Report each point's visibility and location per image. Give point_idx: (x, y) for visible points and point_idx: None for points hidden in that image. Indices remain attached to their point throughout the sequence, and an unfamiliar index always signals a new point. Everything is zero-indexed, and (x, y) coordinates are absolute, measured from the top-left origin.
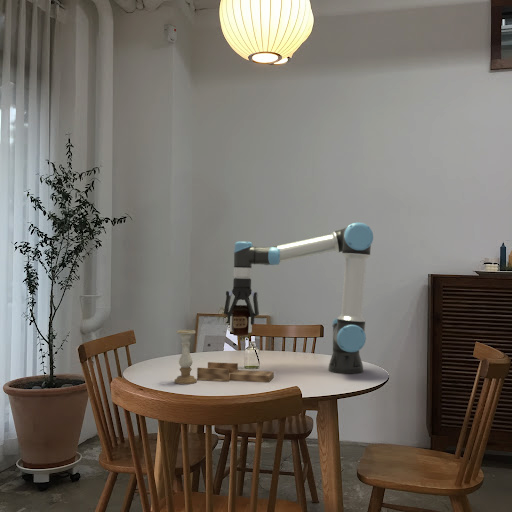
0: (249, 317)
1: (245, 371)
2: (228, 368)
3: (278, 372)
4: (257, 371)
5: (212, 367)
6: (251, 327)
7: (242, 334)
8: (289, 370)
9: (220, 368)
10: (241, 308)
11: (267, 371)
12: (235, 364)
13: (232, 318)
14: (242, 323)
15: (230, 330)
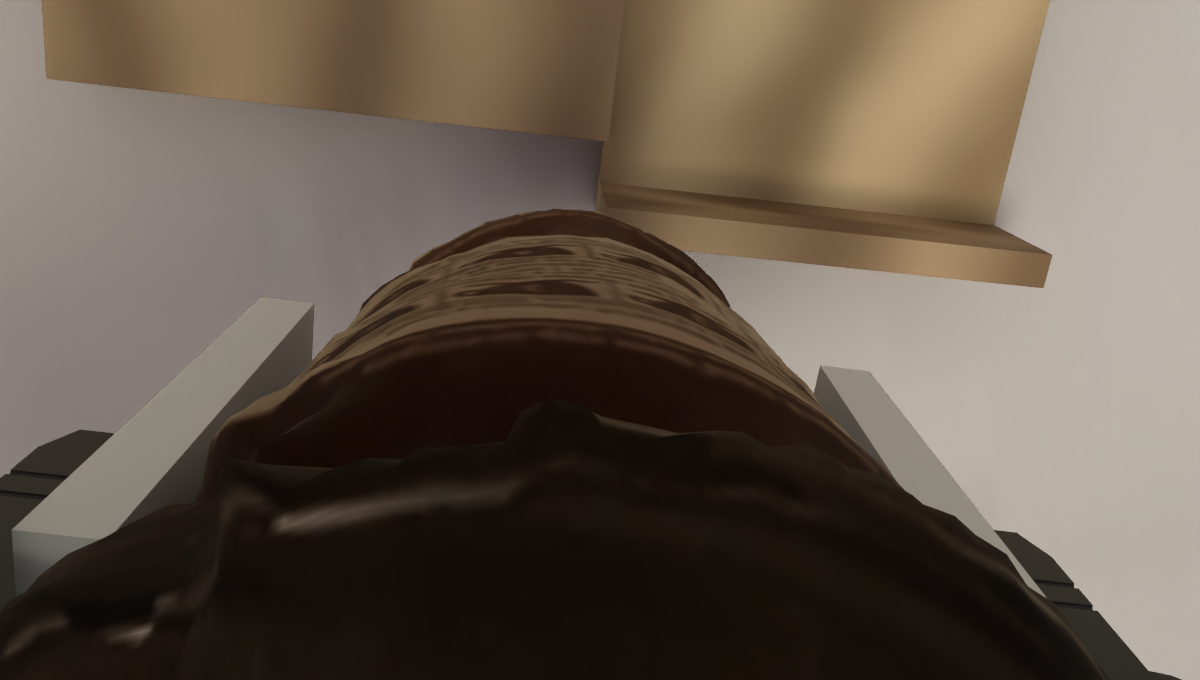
0: (77, 524)
1: (455, 24)
2: (727, 207)
3: None
4: (282, 52)
5: (954, 230)
6: None
7: (483, 233)
8: None
9: (839, 216)
10: (366, 570)
11: (137, 72)
12: (631, 207)
13: None
14: (445, 278)
15: (859, 381)
